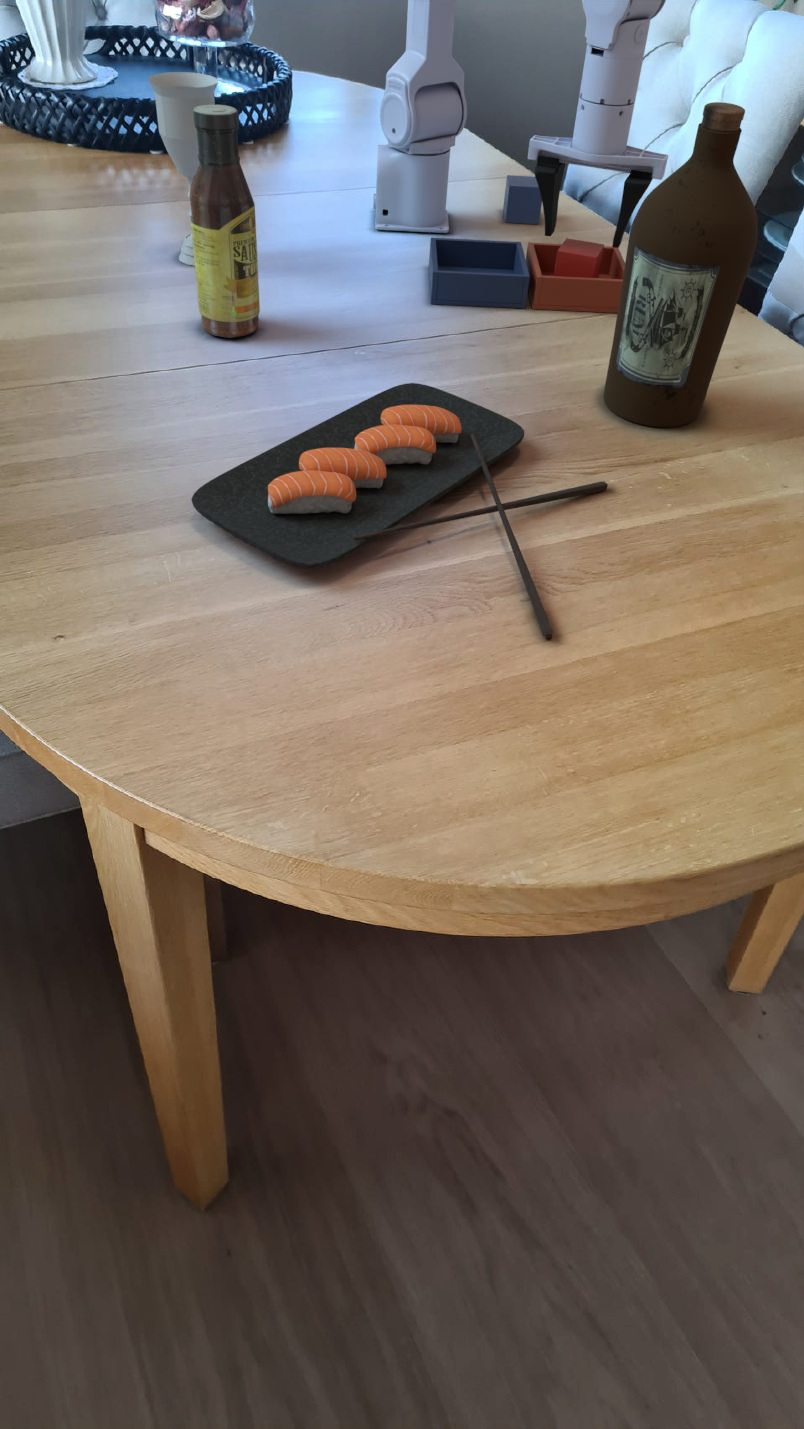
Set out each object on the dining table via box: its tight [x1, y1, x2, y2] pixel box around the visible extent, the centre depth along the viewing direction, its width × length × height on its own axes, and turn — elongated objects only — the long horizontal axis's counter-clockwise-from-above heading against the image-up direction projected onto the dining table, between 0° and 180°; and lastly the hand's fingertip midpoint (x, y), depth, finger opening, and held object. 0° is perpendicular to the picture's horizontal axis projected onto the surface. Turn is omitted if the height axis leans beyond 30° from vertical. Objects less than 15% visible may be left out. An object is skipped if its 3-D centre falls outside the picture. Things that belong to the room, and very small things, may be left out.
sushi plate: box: [191, 382, 609, 640], centre depth 76 cm, size 29×30×4 cm
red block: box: [554, 237, 605, 278], centre depth 110 cm, size 4×4×4 cm
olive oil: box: [603, 101, 759, 428], centre depth 84 cm, size 11×11×25 cm
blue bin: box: [428, 237, 530, 309], centre depth 110 cm, size 11×11×4 cm
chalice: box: [147, 71, 219, 267], centre depth 108 cm, size 7×7×18 cm
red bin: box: [525, 242, 625, 314], centre depth 111 cm, size 11×11×4 cm
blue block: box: [502, 174, 543, 225], centre depth 128 cm, size 4×4×4 cm
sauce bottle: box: [189, 104, 261, 339], centre depth 94 cm, size 7×6×20 cm
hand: (582, 239), depth 108 cm, fingers open, 7 cm apart
